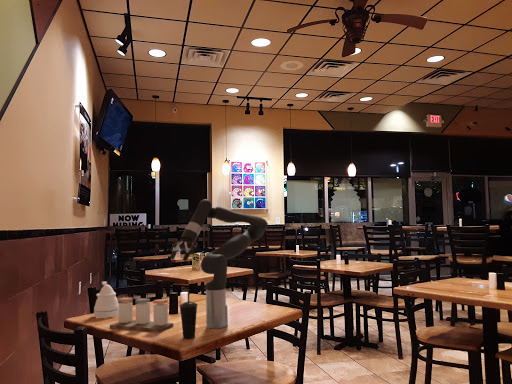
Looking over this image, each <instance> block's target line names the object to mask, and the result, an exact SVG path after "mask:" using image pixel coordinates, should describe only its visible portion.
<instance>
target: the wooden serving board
mask: <svg viewBox="0 0 512 384" xmlns="http://www.w3.org/2000/svg"><path fill="white" fill-rule="evenodd" d="M173 327H174V322H168V324H166V325H163V326H160V325H154V321H150V322H149V323H147V324H136V319H135V320H134V319H133V321H131V322H128V323H122V322H119V321H118V322H114V323H111V324H109V329H113V328H117V329H116V330H125V329H128V331H139V332H149V333H162V332H165V331H166V330H169V329H171V328H173Z"/></svg>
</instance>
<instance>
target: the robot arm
mask: <svg viewBox="0 0 512 384" xmlns="http://www.w3.org/2000/svg"><path fill="white" fill-rule="evenodd" d="M212 205H213V204H212V202H211V201H210V200H209V199H208V198H207V199H206V198H205V199H202V200H200V202H198V205H197V208H196V210H195V212H194V214H193V215H192V217H191V219H190V221H188V224H187V225H186V227H185V229H184V231H183V233H182V234H181V237H180V238H181V239H180V240H175V241H174V242H173V244H172V246H171V247H170V251H171V254H170V257H169V259H171V260H172V261H174V259H175V258H176V256H177V254H178V252H182V251H185V254H184V256H183V258H182V260H183V261H184V262H187V260H189V257H190V256H191V255H194V254H195V253H196V250H197V248H198V243H197V242H196V241H197V239H198V237H199V235H200V233H201V230H202V228H203V225H204V224H205V221H206V218H207V219H209V218H210V219H214V220H218V221H220V222H223V223H229V224H234V223H235V224H237V223H245V224H249V226H248V228H247V229H246V230H245V231H244V232H243V233H242V234H241V233H237V234H235V235H234V236H232V237H231V238H230V239H228V240H227V241H226V242H225V243H223V244H222V245H221V246H219V247H218V248H216V249H214V250H213V251H211V252H210V253H208V254H206V255H204V257H203V259H202V260H201V264H200V267H201V271H202V272H203V273H205V274H209V275H213V279H212V280H211V281H209V282H206V284H205V309H206V310H205V312H206V320H205V321H206V323H205V324H206V328H207V329H211V330H212V329H224V328H225V327H228V326H229V323H228V321H229V320H228V319H229V318H228V317H229V314H228V304H227V298H226V297H227V296H226V295H227V294H226V290H227V289H226V285H227V281H228V260H230V259H233V258H235V257H238V256H240V255H241V254H242V253H243V252H244V251H245V250H247V249H248V248H249V247H250V246H251V245H252V244H253V243H254V242H257V241H258V240H260V239H261V238H262V237H263V235H264V234H265V232H266V230H267V229H268V226H269V225H268V221H267V220H266V219H265V218H263V217H260V216H256V215H252V214H248V213H247V214H246V213H243V212H236V211H233V210H230V209H227V208H225V207H222V206H216V207H213V206H212Z"/></svg>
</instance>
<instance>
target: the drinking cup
mask: <svg viewBox="0 0 512 384" xmlns="http://www.w3.org/2000/svg"><path fill="white" fill-rule="evenodd" d="M179 309H180V317H181V329H182V337H183V339H184V340H193V339H195V338H196V324H197V311H198V310H197V309H198V303H196V302H194V301H190V289H187V301H184V302H183V303H181V304H179Z"/></svg>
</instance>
